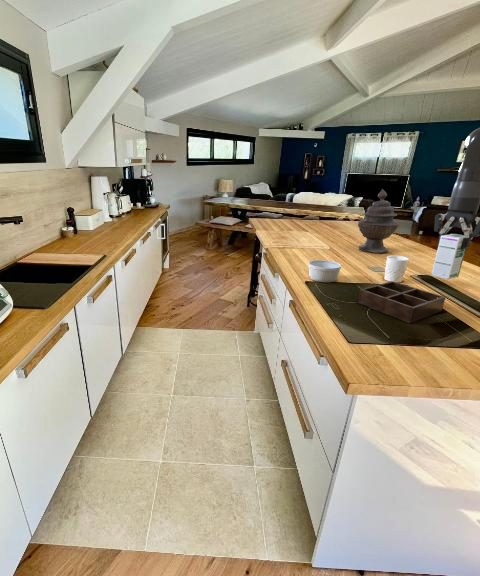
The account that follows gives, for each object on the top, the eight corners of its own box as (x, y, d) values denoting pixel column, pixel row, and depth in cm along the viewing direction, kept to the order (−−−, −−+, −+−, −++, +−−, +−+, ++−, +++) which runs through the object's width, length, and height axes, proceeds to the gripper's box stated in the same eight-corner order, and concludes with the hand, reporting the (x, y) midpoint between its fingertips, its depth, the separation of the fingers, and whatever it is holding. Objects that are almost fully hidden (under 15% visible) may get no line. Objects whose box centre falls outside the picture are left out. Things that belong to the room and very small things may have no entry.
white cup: (381, 276, 141) (386, 254, 138) (402, 278, 138) (407, 256, 134) (383, 281, 135) (388, 259, 131) (404, 284, 131) (410, 261, 128)
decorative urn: (395, 255, 170) (404, 188, 160) (353, 253, 180) (360, 190, 170) (394, 249, 186) (402, 187, 176) (356, 248, 196) (362, 189, 186)
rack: (441, 311, 107) (446, 297, 105) (409, 323, 99) (413, 308, 97) (388, 293, 122) (391, 280, 120) (357, 302, 114) (360, 289, 112)
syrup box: (448, 280, 106) (460, 237, 101) (430, 275, 111) (440, 234, 106) (458, 277, 109) (470, 236, 103) (439, 272, 114) (451, 233, 108)
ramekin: (327, 273, 146) (330, 258, 144) (345, 282, 134) (348, 267, 131) (301, 275, 144) (303, 260, 142) (316, 284, 132) (319, 269, 129)
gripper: (500, 196, 96) (483, 249, 102) (447, 193, 108) (434, 241, 114) (488, 197, 93) (471, 252, 99) (435, 195, 105) (423, 244, 111)
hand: (452, 246), depth 106 cm, fingers closed on syrup box, 6 cm apart
